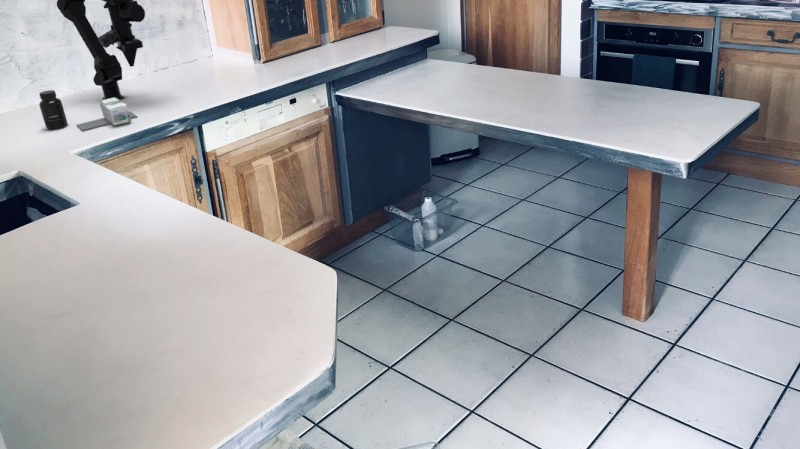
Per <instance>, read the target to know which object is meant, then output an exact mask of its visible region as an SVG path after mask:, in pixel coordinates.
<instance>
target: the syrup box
mask: <svg viewBox="0 0 800 449" xmlns="http://www.w3.org/2000/svg"><path fill="white" fill-rule="evenodd" d="M98 103H99V106H100V109H101V112H102V117H103V118H106V119H107V120H109V121H110V122H111V123H112V124H111V125H113V126H117V125H118V126H119V125H122V124H126V123H129V122H132V119H131V118H130V114H129V111H130V110H129V108H128V105H127V104H126V103H125V102H122V101H121V99H117V98H116V97H114V98H110V99H105V100H103V99H102V100H99V101H98Z"/></svg>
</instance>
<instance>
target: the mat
mask: <svg viewBox="0 0 800 449" xmlns="http://www.w3.org/2000/svg"><path fill="white" fill-rule="evenodd" d="M128 111H129V114H130V118H131V120H132V119H137V118H138V115H137V114H135V113H133V112H131V110H128ZM109 125H113V124H112V123H111V122H110V121H109V120H107V119H106V118H105V117H102V118H98V119H94V120H90V121H85V122H82V123H79V124H78V123H77V124H76V127H77V128H78V129H79V130H80V131H82V132H86V131H87V132H88V131H90V130H93V129H94V130H95V129H97V128H102V127H106V126H109Z"/></svg>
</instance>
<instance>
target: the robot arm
mask: <svg viewBox="0 0 800 449" xmlns="http://www.w3.org/2000/svg"><path fill="white" fill-rule="evenodd" d="M101 1H103V2H104V3H105V4H104V5H103V9H108V13H109V14H108V15H109V17H110V21H111V24H110V26H109V27H110V30H109V31H107V32H105V33H103V34H102V35H100V36H98V35H97V33H96V31H95V30H94V28H93V26H92V25H91V23H90V21H89V19H88V17H87V15H86V13H87V11H86V10H87V7H86V5H85V2H86V0H57V1H56V7H57V9H58V10H59V11H60V13H61V15H62V16H63V17H64V18H65V19H66V20H68V21H70V22H72V24H73V26H74V27H75V29H76V31H77V32H78V34H79V36H80V37H81V39H82V41H83V43H84V45H85V46H86V48H87V49H88V51H89V53H90V54H91V57H92V58H93V60H94V61H93V68H94V70H95V75H94V77H93V79H92V80H93V83H94V85H95V86H98V87H101V89H102V92H103V97H102V100H105V99H110V98H114V97H116V98H117V99H119V100H122V99H124V98H125V96H124V95H122V94H121V90H120V87H119V83H118V81H122V80H123V68H122V64H121V63H120V61H119V60H118V58H117V56H116V55H115V54H110V53H108V52H107V51H106V49H107V48H108V47H111V45H112V46H114V45H115V44H117V46H115V49H118V50H119V51H121V52H122V54H123V55H124V57H125V60H126V61H127V63H128V65H129V67H131V68H132V67H134V66H135V62H136V56H137V52H138V49H142V48H144V44H143V41H141V40H140V39H139V38H136V36H135V35H134V34H133V30H132V27H133V25H132V23H141V22H143V21H144V20H145V17H146V10H145V9H144V7H143V6H142V5H141V4H139V3H138V1H137V0H101Z"/></svg>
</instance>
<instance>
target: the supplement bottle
mask: <svg viewBox="0 0 800 449" xmlns="http://www.w3.org/2000/svg"><path fill="white" fill-rule="evenodd" d="M38 94H39V98H40V102H39V105H38V106H39V109H40V112H41V115H42V119H43V122H44V125H45V128H46V130H50V131H52V130H53V131H55V130H60V129H63V128H66V127H67V126H68V125H69V124H68V119H67V116H66V113H65V109H64V106H63V102H62V100H61V98H59V97H57V94H56V91H55V90H53V89H50V90H44V91H42V92H41V91H40V92H39V93H38Z"/></svg>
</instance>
